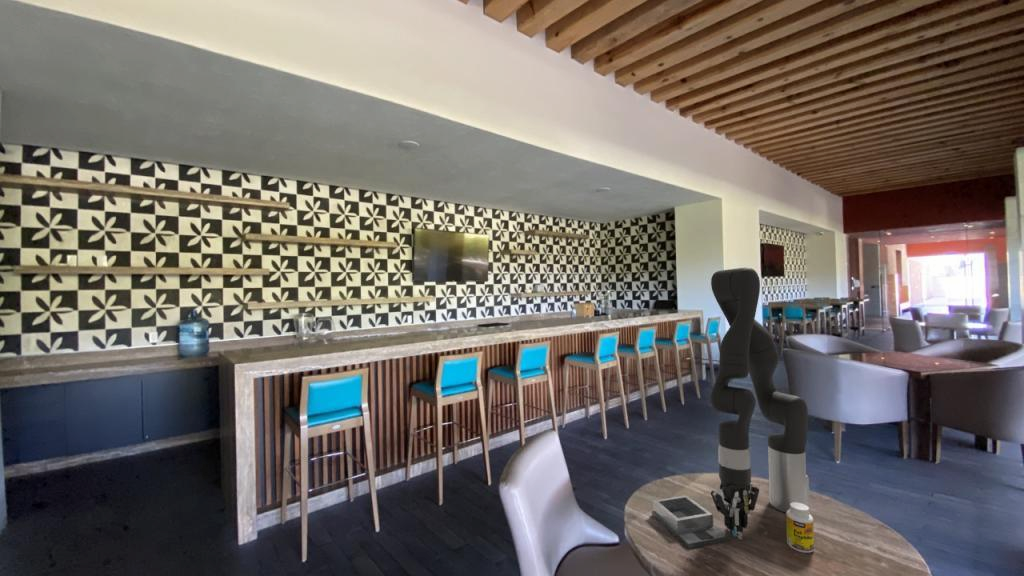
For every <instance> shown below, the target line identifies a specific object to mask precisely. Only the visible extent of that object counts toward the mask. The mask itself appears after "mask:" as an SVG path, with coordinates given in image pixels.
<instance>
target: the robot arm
mask: <svg viewBox="0 0 1024 576" xmlns="http://www.w3.org/2000/svg"><path fill="white" fill-rule="evenodd" d="M710 286H711V291H712V293H713V294H712V295H713V296H714V298H715V300H716V303H717V304H718V306H719V308H720V310H721V312H722V313H723V315H724V317H725V319H726V321H727V323H728V325H729V328H728V329H727V331H726V332H725V334H724V336H723V337H722V340H721V342H720V347H719V362H718V371H717V374H716V379H715V382H714V383H713V387H712V389H711V392H710V395H709V401H710V405H711V407H712V408H713V409H714V410H715V411H717V412H719V413H725V414H732V415H736V416H738V418H737V420H723V421H721V422H720V423H719V425H718V451H717V452H718V457H717V458H718V459H717V460H718V477H719V480H720V484H719V485H720V486H719V488H718V490H716V491H715V490H711V491H710V495H711V498H712V500H713V503H714V505H715V506H714V507H715V508H716V510H717V512H719V513H721V514H722V515H723V516H724V517H723V518H724V519H723V520H724V526H725V527H726V528H727V530H728V529H729V530H731V531H732V530H734V517H733V513H734V508H736V503H737V498H740V500H741V501H740V502H742V501H743V502H745V504H744V507H743V508H741V509H739V510H738V513H739V518H740V519H741V526H742V527H743V529H747V527H748V523H749V520H748V519H749V518H748V517H749V516H748V514H749V513H750V511H754V510H755V508H756V505H757V501H758V498H759V494H760V488H759V487H756V486H755V485H753V484H751V483H752V468H751V467H752V466H751V452H750V440H749V439H750V437H749V436H750V435H749V433H750V425H751V421H752V418H753V414H754V412H755V407H756V402H757V404H758V407H759V410H760V412H761V415H762V416H763V418H764V419H765V420H767V421H768V422H771V423H774V424H778V425H780V426H784V433H783V432H781V433H780V432H779V433H773V434H770V435H769V436H768V437H767V448H768V449H767V452H768V453H767V455H768V456H767V457H768V484H769V485H768V487H769V489H768V490H769V492H768V493H769V504H770V506H772V507H773V508H774V509H776V510H779V511H781V512H783V513H786V512H787V511H788V510H789V509H790V503H792V502H797V503H801V504H804V505H806V506H808V507H809V510H810V505H811V503H810V478H809V476H808V475H807V465H806V463H807V462H806V459H807V458H806V456H807V455H806V446H807V441H808V419H809V411H808V410H809V409H808V405H807V403H806V401H805V399H804V398H802V397H800V396H797V395H794V394H788V393H783V392H779V390H777V388H776V386H775V383H774V380H773V376H774V374H775V371H776V369H777V368H778V364H779V361H780V353H779V350H778V347H777V345H776V342H775V340H774V337H773V336H772V334H771V333H770V331H769V330H767V328H766V327H765V326H763V325H762V324H761V323H760V322H758V320H757V319H755V318H756V314H757V307H758V303H759V298H760V297H759V296H760V292H761V281H760V277H759V274H758V272H757V271H756V270H755V269H754V268H752V267H748V266H747V267H739V268H731V269H722V270H721V269H720V270H718V271H716V272H714V273H713V275H712V276H711V280H710ZM748 376H750V380H751V383H752V386H753V388H754V392H755V395H754V393H753V392H752V390H750V389H747V388H745V387H744V388H743V387H736V386H735V387H734V386H729V383H730V382H731V381H732V380H739V379H742V380H743V379H746V378H747V377H748ZM756 399H757V401H756ZM725 498H726V499H727V500H728V501H730V502H731V504H730V503H728V502H726V501H724V499H725ZM728 506H729V507H728ZM731 531H730V532H731Z"/></svg>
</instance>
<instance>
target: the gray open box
mask: <svg viewBox="0 0 1024 576" xmlns="http://www.w3.org/2000/svg"><path fill="white" fill-rule="evenodd" d="M652 505H653V508H652V510H651V516H652V517H653V518H654V519H655V520H657V521H658V522H659V524H660V525H662V526H663V527H664V528H665V529H666V530H668V531H669V533H670V534H672V535H673V537H675V538H676V539H677V540H679V542H681V543H682V544H683V545H684V546H685V548H687V549H690V550H691V549H694V548H699V547H704V546H708V545H714V544H719V543H723V542H729V540H730V536H729V535H728V534H727V533H725V532H724V531H723V530H722V529H720V528H719V527H717V526H716V525H715V524H714V514H713V513H711V512H710V511H709V510H707V509H706V508H705V507H703V506H701V504H699V503H697V502H696V501H695V500H693V499H692V498H691V497H690V496H688V495H679V496H672V497H667V498H659V499H655V500H652Z"/></svg>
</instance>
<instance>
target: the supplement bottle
mask: <svg viewBox="0 0 1024 576" xmlns="http://www.w3.org/2000/svg"><path fill="white" fill-rule="evenodd" d="M785 513H786V519H785V520H786V543H787V544H788V546H789V547H790V548H791V549H793V550H795V551H798V552H800V553H804V554H805V553H806V554H808V553H812V552H814V550H815V540H814V539H815V537H814V535H815V534H814V529H815V528H814V517H813V516H812V515H811V512H810V509H809V507H808V506H806V505H804V504H801V503H797V502H792V503H790V509H789V510H788V511H787V512H785Z"/></svg>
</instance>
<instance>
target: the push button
mask: <svg viewBox="0 0 1024 576" xmlns="http://www.w3.org/2000/svg"><path fill="white" fill-rule="evenodd" d="M724 501H726V502H728V503H730V504H731V502H730V501H728V500H727V499H726V498H725V499H724ZM740 501H741V500H740V498H737V503H736V508H734V513H733V517H734V530H732V531H731V530H729V529H728V528H727V531H728V532H729V533H731V534H732V535H733V537H734V538H738V539H739V540H743V538H742V537H743V534H744V528H743V527H742V526H741V519H740V518H739V513H738V510H739V509H741V508H743V507H744V504H745V502H743V501H742V502H740ZM728 508H729V506H728Z"/></svg>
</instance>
